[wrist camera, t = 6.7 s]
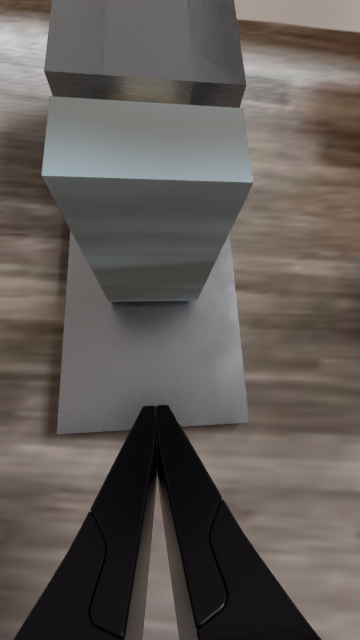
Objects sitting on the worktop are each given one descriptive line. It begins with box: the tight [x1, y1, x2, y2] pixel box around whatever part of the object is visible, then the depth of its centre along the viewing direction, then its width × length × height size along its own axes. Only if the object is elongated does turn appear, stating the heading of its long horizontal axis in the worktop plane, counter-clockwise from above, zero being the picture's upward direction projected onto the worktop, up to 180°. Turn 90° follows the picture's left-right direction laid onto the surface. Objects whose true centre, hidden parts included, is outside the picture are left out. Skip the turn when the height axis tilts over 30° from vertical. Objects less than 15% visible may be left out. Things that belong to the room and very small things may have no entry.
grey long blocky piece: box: [44, 0, 249, 434], centre depth 14 cm, size 24×10×7 cm, turn 3°
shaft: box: [41, 96, 253, 302], centre depth 13 cm, size 15×5×9 cm, turn 3°
